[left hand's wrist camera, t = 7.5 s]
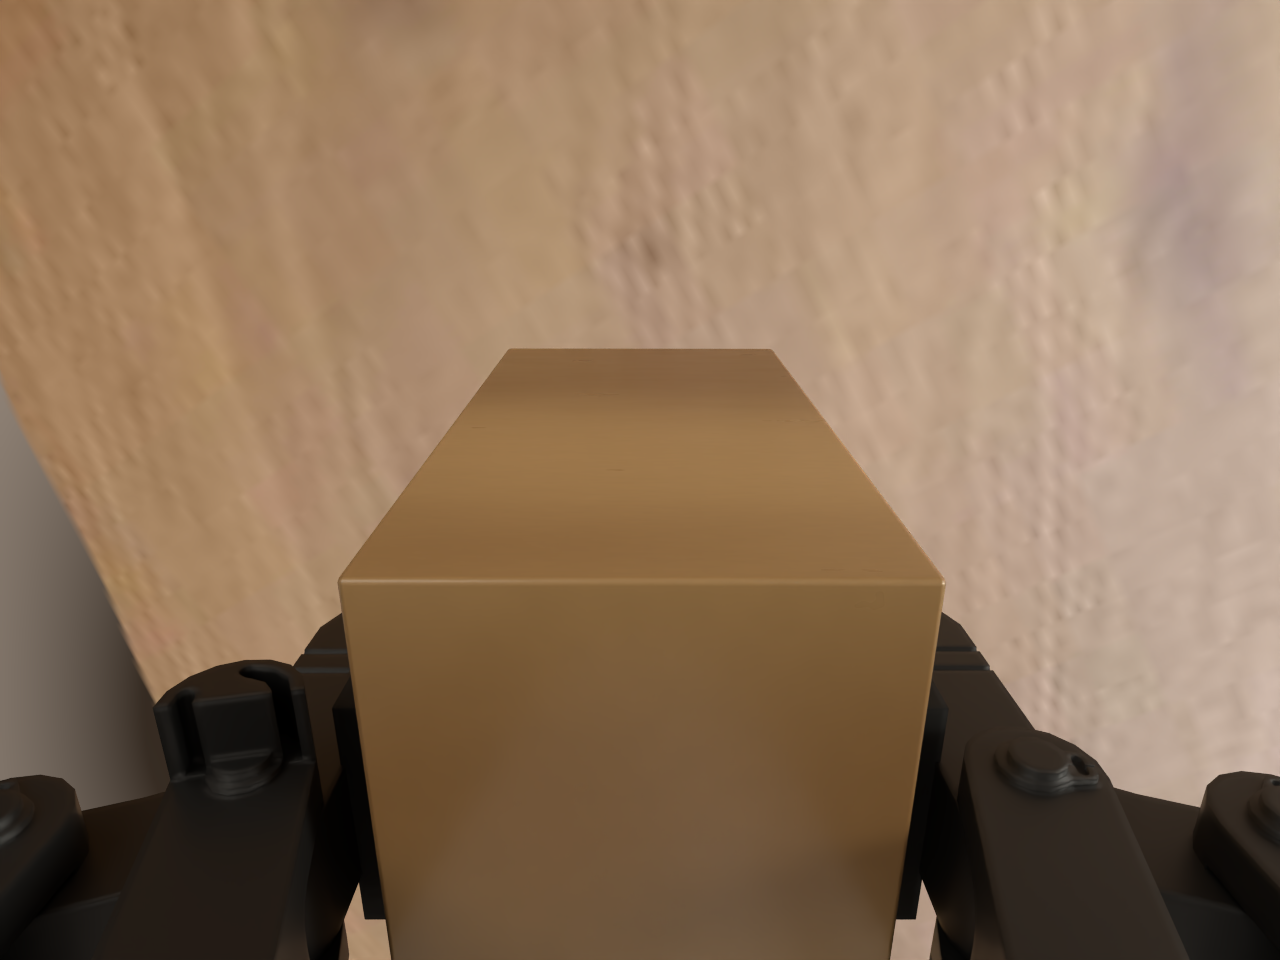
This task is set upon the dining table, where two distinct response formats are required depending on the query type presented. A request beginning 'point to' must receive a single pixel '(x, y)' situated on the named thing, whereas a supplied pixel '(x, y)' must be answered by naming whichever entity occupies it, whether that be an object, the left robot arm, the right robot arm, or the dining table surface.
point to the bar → (641, 671)
